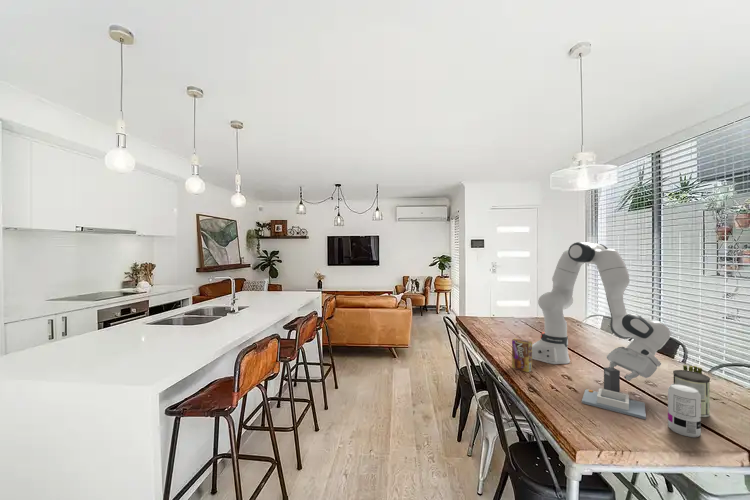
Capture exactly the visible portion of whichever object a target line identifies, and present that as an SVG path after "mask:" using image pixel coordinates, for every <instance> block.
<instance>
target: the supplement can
mask: <svg viewBox="0 0 750 500" xmlns="http://www.w3.org/2000/svg"><path fill="white" fill-rule="evenodd" d="M667 427H668V428H669V429H670V430H671V431H672V432H673V433H677V434H678V435H680V436H681V435H682V436H684V437H688V438H698V437H700V436H701V434H702V431H701V430H702V429H701V428H702V417H701V395H700V393H699V392H698V390H697V389H695V388H693V387H690V386H686V385H681V384H674V383H671V384H670V385H669V386H668V388H667Z"/></svg>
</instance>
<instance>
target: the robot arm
mask: <svg viewBox="0 0 750 500" xmlns="http://www.w3.org/2000/svg"><path fill="white" fill-rule="evenodd" d="M584 264H588V265H589V264H591V265H592V264H593V265H595V266H596V268H597V269H598V273H599V276H600V277H599V278H600V280H601V281H602V286H603V289H604V292H605V296H606V301H607V305H608V309H609V313H610V325H609V326H610V332H611V333H612V334H613V335H615V337H617V338H619V339H622V340H629V339H633V340H632V341H631V342H630V343H629V344H628V345H627V346H626V347H625V346H618V347H616V348H614V349H613V350H611V351H610V352H609V353H608V354H607V355H606V359H607V360H608V361H609V365H608V367H613V368H615V367H617V366H618V367H620V368H622V369H624V370H627V371H629V372H631V373H629V374H628V373H627V374H625V376H624V377H623V378H624V379H625V380H626V381H628V382H630V381H631V380H632V379H635V378H637V377H639V376H640V377H643V378H645V379H648V378H650V377H651V376H653V374H655V372H656V371H657V369H658V368H659V367H661V365H662V362H661V361H660V360H659V359H658V358H657V357H656V356H655V355H656V353H657V352H658V350H661V349H662V348H663V347H664V346H665V345H666V343H667V342H668V341H669V339H670V337H671V334H672V333H671V330H670V329H669V327H667V326H666V324H664V323H663V322H660V321H658V320H650V319H647V318H644V317H642V316H641V315H638V314H636V313H627V308H626V307H625V302H624V293H625V292H626V289H627V287H628V285H630V275H629V271H628V268H627V266H626V264H625V261H624V260H623V257H622V256H621V254H620V252H619V251H618V250H616V249H613V248H608V247H607V245H606V246H605V245H604V244H601V243H596V242H591V241H590V242H584V241H578V242H574V243H572V244H571V245H569V247H568V249H567V250H564V252H562V254H561V255H560V258H559V260H558V261H557V263H556V267H555V270H554V273H553V275H552V278H551V280H552V290H551V291H548V292H544V293H543V294H541V295H540V296H539V297H538V302H537V303H538V304H537V305H538V307H539V308H540V309H541V311H542V315H543V318H544V319H543V320H544V331H542V333H541V334H540V339H539V340H537V341H535V342H534V343H532V360H535V361H539V362H543V363H547V364H550V365H565V364H570V363H571V360H570V357H569V349H568V346H569V338H568V337H569V336H568V322H567V320H566V319H565V316H564V310H567V309H569V308H570V307H571V306H573V302H574V297H573V293H574V287H575V283H576V281H577V278H578V275H579V273H580V269H581V267H582V266H583V265H584Z"/></svg>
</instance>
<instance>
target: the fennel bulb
mask: <svg viewBox="0 0 750 500" xmlns="http://www.w3.org/2000/svg"><path fill="white" fill-rule="evenodd" d="M682 367H683V369H682V370H687V371H692V372H697V373H700V374H702V373H703V368H702V367H698V366H696V365H693V366H692V365H689V366H688V365H686V364H685V365H684V364H683V365H682Z"/></svg>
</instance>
